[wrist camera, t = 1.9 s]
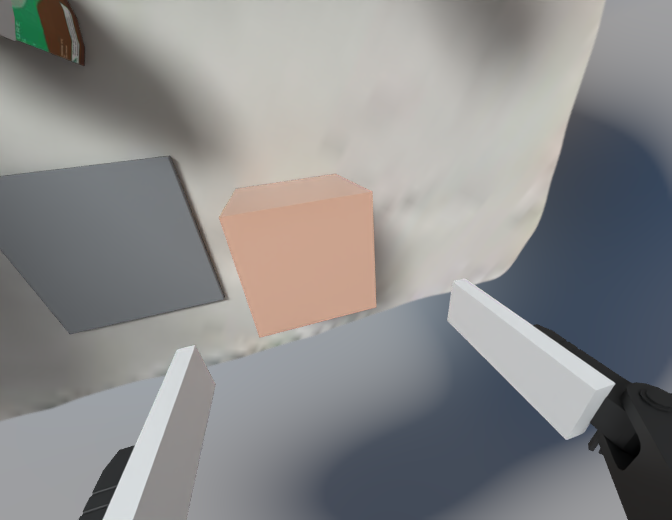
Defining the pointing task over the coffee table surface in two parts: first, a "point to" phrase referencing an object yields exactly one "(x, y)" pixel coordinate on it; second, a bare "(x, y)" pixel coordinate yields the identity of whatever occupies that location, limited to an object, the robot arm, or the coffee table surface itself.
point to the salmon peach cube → (302, 250)
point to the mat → (106, 242)
